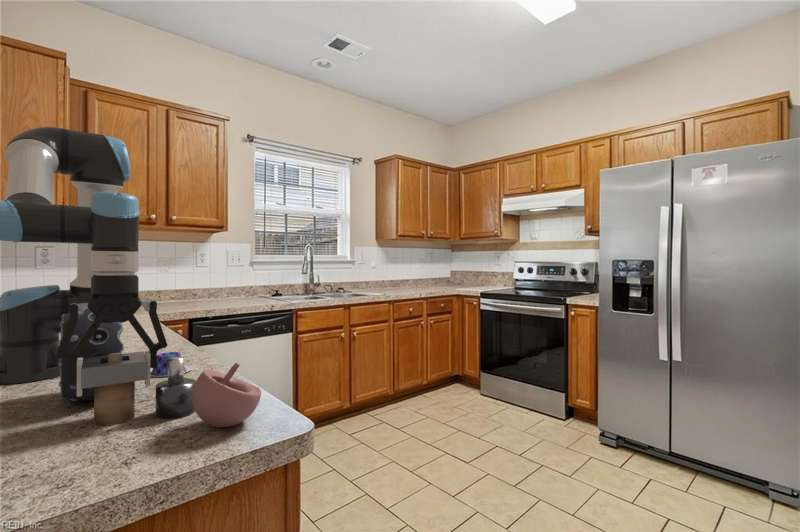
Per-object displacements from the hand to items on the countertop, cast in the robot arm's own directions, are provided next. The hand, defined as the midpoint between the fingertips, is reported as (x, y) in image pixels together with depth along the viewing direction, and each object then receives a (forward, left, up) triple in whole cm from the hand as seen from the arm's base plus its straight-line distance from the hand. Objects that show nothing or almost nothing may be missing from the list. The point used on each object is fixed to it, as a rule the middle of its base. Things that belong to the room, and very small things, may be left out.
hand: (114, 389), depth 79 cm
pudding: (-32, +13, -6) cm, 35 cm away
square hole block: (0, 0, +2) cm, 2 cm away
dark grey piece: (-17, -4, -6) cm, 18 cm away
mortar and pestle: (+15, +17, -6) cm, 23 cm away
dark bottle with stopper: (+3, +10, -6) cm, 12 cm away
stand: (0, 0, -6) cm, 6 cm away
